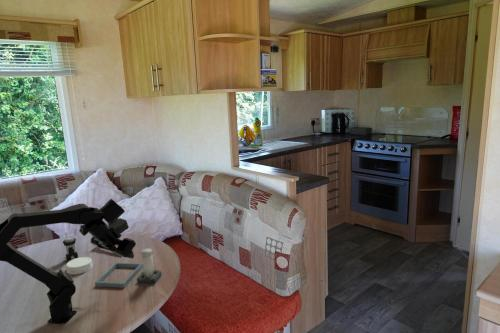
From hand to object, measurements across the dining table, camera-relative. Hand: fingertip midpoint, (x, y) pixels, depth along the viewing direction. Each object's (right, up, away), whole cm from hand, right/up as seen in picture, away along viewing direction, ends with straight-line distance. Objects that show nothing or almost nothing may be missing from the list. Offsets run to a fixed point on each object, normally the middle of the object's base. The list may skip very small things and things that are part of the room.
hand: (124, 254), depth 132 cm
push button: (-35, -9, +27) cm, 45 cm away
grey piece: (+8, -12, +6) cm, 16 cm away
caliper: (-20, -8, +34) cm, 40 cm away
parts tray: (-5, -12, +9) cm, 16 cm away
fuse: (+8, -11, +6) cm, 15 cm away
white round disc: (-26, -11, +18) cm, 33 cm away
